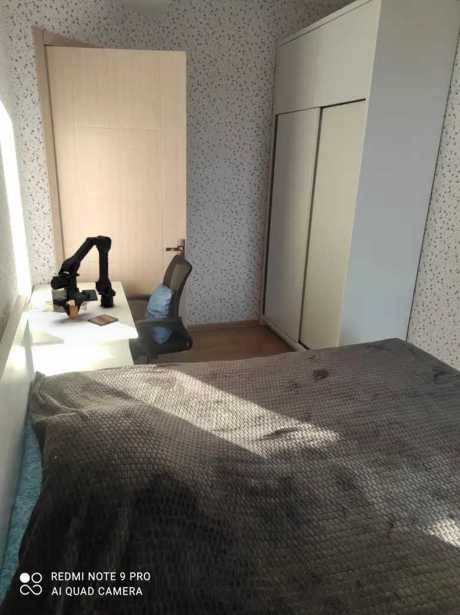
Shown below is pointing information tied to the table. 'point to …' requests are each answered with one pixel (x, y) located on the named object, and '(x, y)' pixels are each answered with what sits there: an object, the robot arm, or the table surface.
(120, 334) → the table surface
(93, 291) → the smart home device
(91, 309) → the table surface
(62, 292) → the skincare box
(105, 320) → the walnut pad
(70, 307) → the orange cylinder
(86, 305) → the table surface
